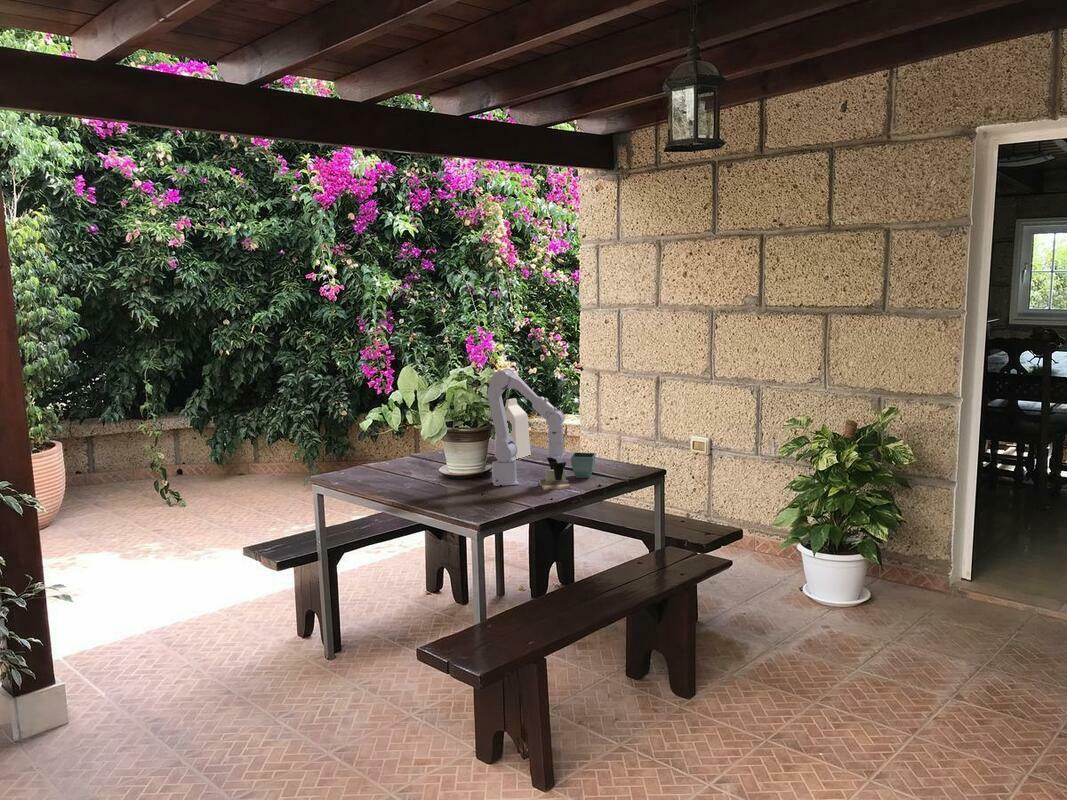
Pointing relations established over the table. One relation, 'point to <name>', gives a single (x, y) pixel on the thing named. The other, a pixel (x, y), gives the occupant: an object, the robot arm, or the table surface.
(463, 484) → the table surface
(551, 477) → the pale green block
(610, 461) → the table surface
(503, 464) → the robot arm
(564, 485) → the track board
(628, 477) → the table surface
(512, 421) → the milk
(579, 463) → the flower pot
